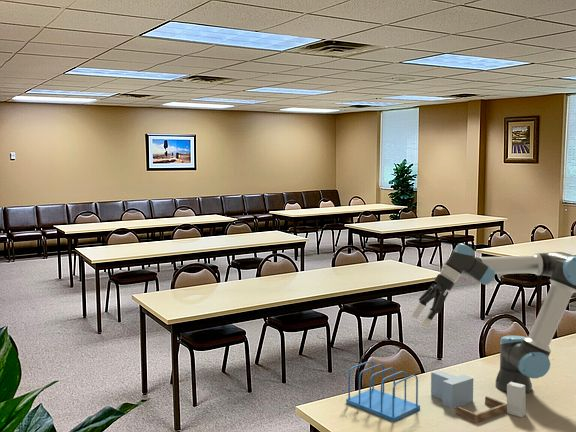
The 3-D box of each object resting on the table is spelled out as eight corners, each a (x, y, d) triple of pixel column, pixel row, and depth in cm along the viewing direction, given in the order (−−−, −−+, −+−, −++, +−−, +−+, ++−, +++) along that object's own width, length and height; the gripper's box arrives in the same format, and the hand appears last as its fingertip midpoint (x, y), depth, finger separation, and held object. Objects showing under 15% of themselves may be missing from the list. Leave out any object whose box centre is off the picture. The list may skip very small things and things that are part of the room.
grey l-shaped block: (445, 390, 256) (445, 368, 256) (473, 401, 244) (473, 378, 243) (424, 396, 249) (424, 374, 248) (452, 408, 237) (452, 384, 236)
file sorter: (345, 403, 243) (345, 367, 242) (372, 392, 255) (372, 358, 254) (393, 422, 225) (394, 383, 224) (420, 409, 236) (420, 372, 235)
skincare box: (525, 414, 231) (526, 384, 230) (521, 418, 227) (522, 387, 226) (510, 410, 235) (511, 380, 234) (506, 413, 231) (506, 384, 231)
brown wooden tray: (486, 403, 242) (486, 396, 242) (507, 411, 234) (507, 404, 233) (455, 414, 231) (456, 406, 231) (476, 423, 223) (476, 415, 223)
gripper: (429, 268, 251) (403, 309, 251) (450, 278, 226) (420, 324, 226) (443, 277, 252) (417, 318, 252) (466, 288, 227) (436, 334, 227)
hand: (418, 321), depth 239 cm, fingers open, 13 cm apart
